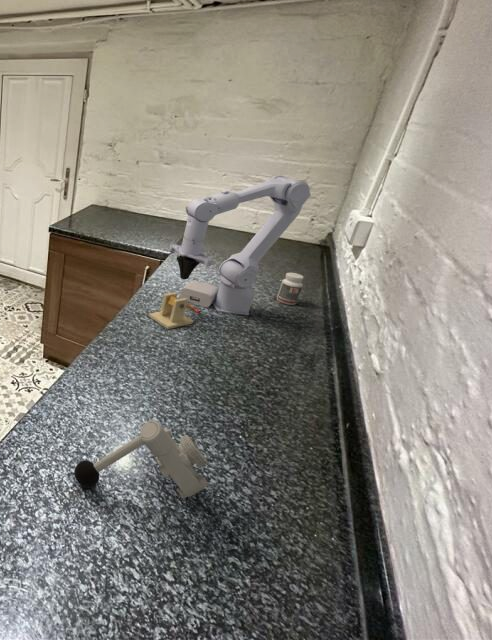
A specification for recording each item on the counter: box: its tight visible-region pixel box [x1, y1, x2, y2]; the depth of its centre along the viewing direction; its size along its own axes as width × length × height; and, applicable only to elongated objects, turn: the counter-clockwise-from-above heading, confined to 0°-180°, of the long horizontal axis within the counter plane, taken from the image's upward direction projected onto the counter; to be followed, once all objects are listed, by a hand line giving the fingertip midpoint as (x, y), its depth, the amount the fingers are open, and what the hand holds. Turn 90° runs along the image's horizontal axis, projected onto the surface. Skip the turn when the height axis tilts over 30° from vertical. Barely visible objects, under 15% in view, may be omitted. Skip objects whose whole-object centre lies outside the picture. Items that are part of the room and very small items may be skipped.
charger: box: [179, 280, 219, 308], centre depth 137 cm, size 5×9×15 cm
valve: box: [74, 419, 209, 499], centre depth 69 cm, size 10×20×15 cm
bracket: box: [148, 291, 194, 330], centre depth 121 cm, size 10×8×8 cm
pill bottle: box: [276, 272, 305, 306], centre depth 135 cm, size 6×6×10 cm
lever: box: [167, 296, 201, 315], centre depth 122 cm, size 11×6×2 cm, turn 112°
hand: (184, 278), depth 127 cm, fingers closed
